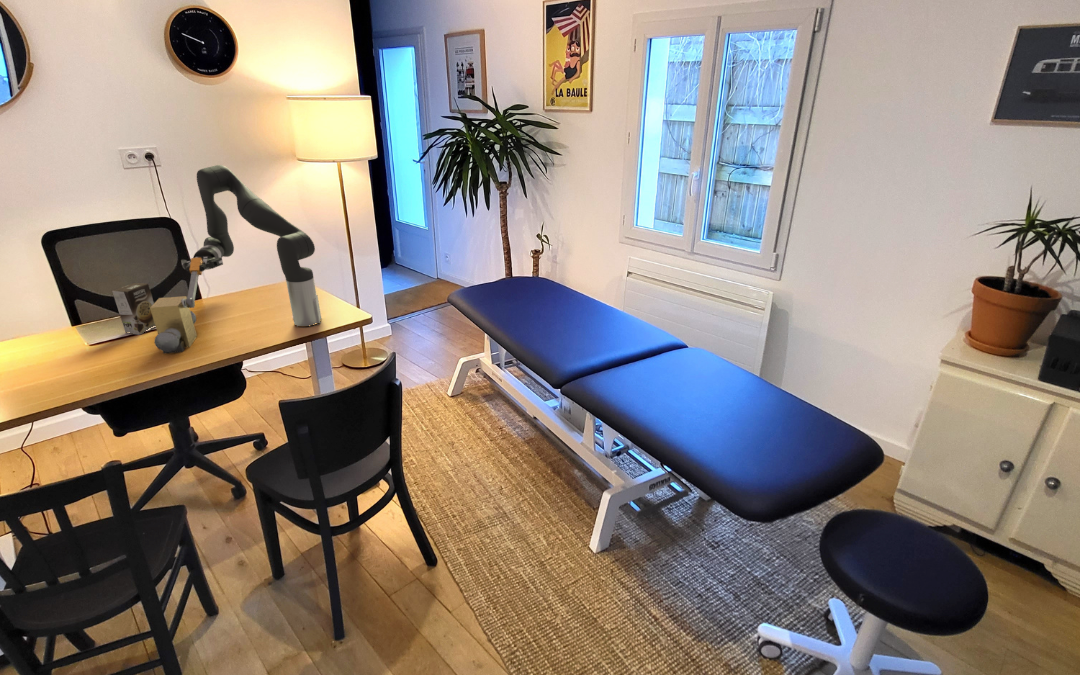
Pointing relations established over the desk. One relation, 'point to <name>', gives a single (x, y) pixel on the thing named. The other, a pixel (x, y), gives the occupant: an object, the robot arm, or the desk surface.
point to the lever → (193, 281)
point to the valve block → (173, 324)
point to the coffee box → (135, 307)
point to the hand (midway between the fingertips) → (195, 269)
